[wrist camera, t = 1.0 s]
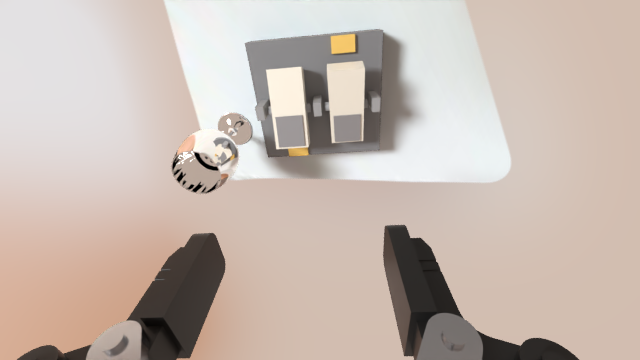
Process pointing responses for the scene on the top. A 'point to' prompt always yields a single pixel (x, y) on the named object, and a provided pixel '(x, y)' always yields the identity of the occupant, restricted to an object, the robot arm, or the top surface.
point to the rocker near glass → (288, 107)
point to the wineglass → (211, 155)
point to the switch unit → (319, 84)
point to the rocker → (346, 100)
